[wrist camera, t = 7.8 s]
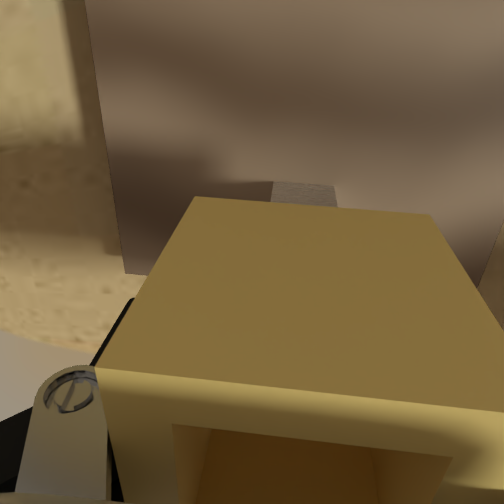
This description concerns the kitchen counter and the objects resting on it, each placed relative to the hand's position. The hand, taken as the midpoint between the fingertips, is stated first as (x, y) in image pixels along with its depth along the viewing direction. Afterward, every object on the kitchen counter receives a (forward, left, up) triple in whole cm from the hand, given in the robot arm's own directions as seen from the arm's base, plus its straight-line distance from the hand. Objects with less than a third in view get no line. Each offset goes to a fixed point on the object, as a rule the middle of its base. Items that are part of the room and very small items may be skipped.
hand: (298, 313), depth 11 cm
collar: (0, 0, -1) cm, 1 cm away
